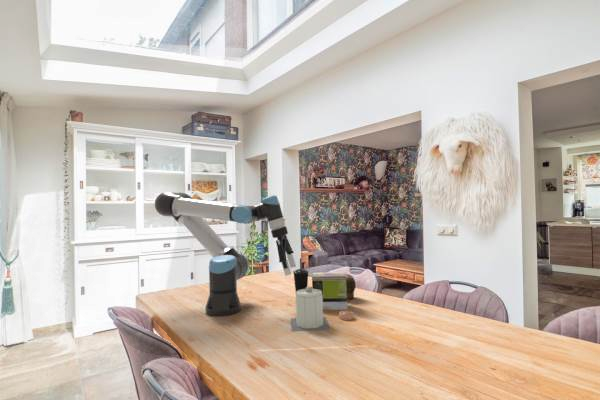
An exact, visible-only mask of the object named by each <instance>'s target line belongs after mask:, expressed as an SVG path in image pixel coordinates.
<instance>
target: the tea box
mask: <svg viewBox="0 0 600 400" xmlns="http://www.w3.org/2000/svg"><path fill="white" fill-rule="evenodd" d="M346 274H347V273H346V272H344V271H343V272H342V271H339V272H336V271H335V272H334V271H333V272H330V271H329V272H313V273H312V276H311V287H312V289H318V290H321V291H322V295H323V310H341V311H348V300H347V286H346Z"/></svg>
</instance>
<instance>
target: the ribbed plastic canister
mask: <svg viewBox="0 0 600 400" xmlns="http://www.w3.org/2000/svg"><path fill="white" fill-rule="evenodd" d="M295 307H296V308H295V311H296V313H295V318H296V323H297V326H298V327H302V328H306V329H307V328H318V327H320V326H322V325H323V317H324V309H323V295H322V291H321V290H318V289H312V286H307V287H306V289H301V290H298V291H296V290H295Z"/></svg>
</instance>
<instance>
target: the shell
mask: <svg viewBox="0 0 600 400" xmlns="http://www.w3.org/2000/svg"><path fill="white" fill-rule="evenodd" d="M345 274H346V286H347V301H351V300H354V299H355V298H354V296H355V294H354V292H355V290H356V287H357V286H356V281H355V278H354V276H352V275H351V274H349V273H348V274H347V273H345Z"/></svg>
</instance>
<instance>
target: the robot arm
mask: <svg viewBox="0 0 600 400" xmlns="http://www.w3.org/2000/svg"><path fill="white" fill-rule="evenodd" d="M154 209H155V211H156V212H157V213H158V214H159V215H162V216H164V217H172V218H173V219H174V221H176V223H177V224H183V226H184V227H185V228H186V229H187V230H188V231H189V232H190V233H191V234H192V236H193V237H194V238H195V239H196V240H197V241H198V242H199V243H200V245H201V246H202V247H203V248H204V249H205V250H206V252H207V253H209V255H210V256H212V258H210V260H209V264H208V265H209V266H208V269H209V270H208V273H209V274H208V278H209V279H208V280H209V281H208V282H209V283H208V284H209V294H208V295H209V296H208V298H207V301H206V304H205V314H206V315H208V316H215V317H224V316H230V315H234V314H237V313H239V312H240V311H242V303H241V301H240V300H241V299H240V298H239V295H238V290H237V289H238V287H237V285H238V283H237V281H239V280H241V279H242V278H243V277H245V275H246V274H247V273H248V272H249V269H250V263H249V260H248V258H247V256H245V255H244V254H243V253H238V251H237V250H236V249H235V248H234V247H231V246H230V247H229V245H227V244H226V243H225V242H224V241H223V240H222V238H221V237H220V236H219V235H218V234H217V233H216V232H215V230H213V228H212V227H211V226H210V225H209V224H208V222H207V221H205V220H204V219H212V220H219V221H228V222H235V223H237V224H244V225H246V224H252V223H254V222H259V221H260V220H265V219H267V223H268V226H269V229H270V230H271V231H270V232H271V236H272V238H273V239H274V238H275V239H277V240H275V244H276V247H277V253H278V259H279V260H278V261H279V263H281V266H282V269H283V272H284V275H285V276H287V277H288V276H289V275H292V272H291V271H292V270H291V268H296V267H297V265H296V261H295V259H294V255H293V254H294V250H293V248H292V247H291V244H290V242H289V239H288V237H287V235H288V233H289V232H288V227H287V226H286V222H285V221H286V219H285V218H284V215H283V212H282V208H281V204H280V202H279V199H278V196H277V195H275V194H273V195H270V196H267V197H264V198H262V199H261V202H260V203H257V204H254V205H242V204H232V203H226V202H218V201H217V202H216V201H210V200H209V201H208V200H201V199H194V198H193V197H192V196H191V195H189V194H187V193H184V192H174V191H165V192H162V193H159V194H158V195H157V196H156V199H155V201H154Z"/></svg>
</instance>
